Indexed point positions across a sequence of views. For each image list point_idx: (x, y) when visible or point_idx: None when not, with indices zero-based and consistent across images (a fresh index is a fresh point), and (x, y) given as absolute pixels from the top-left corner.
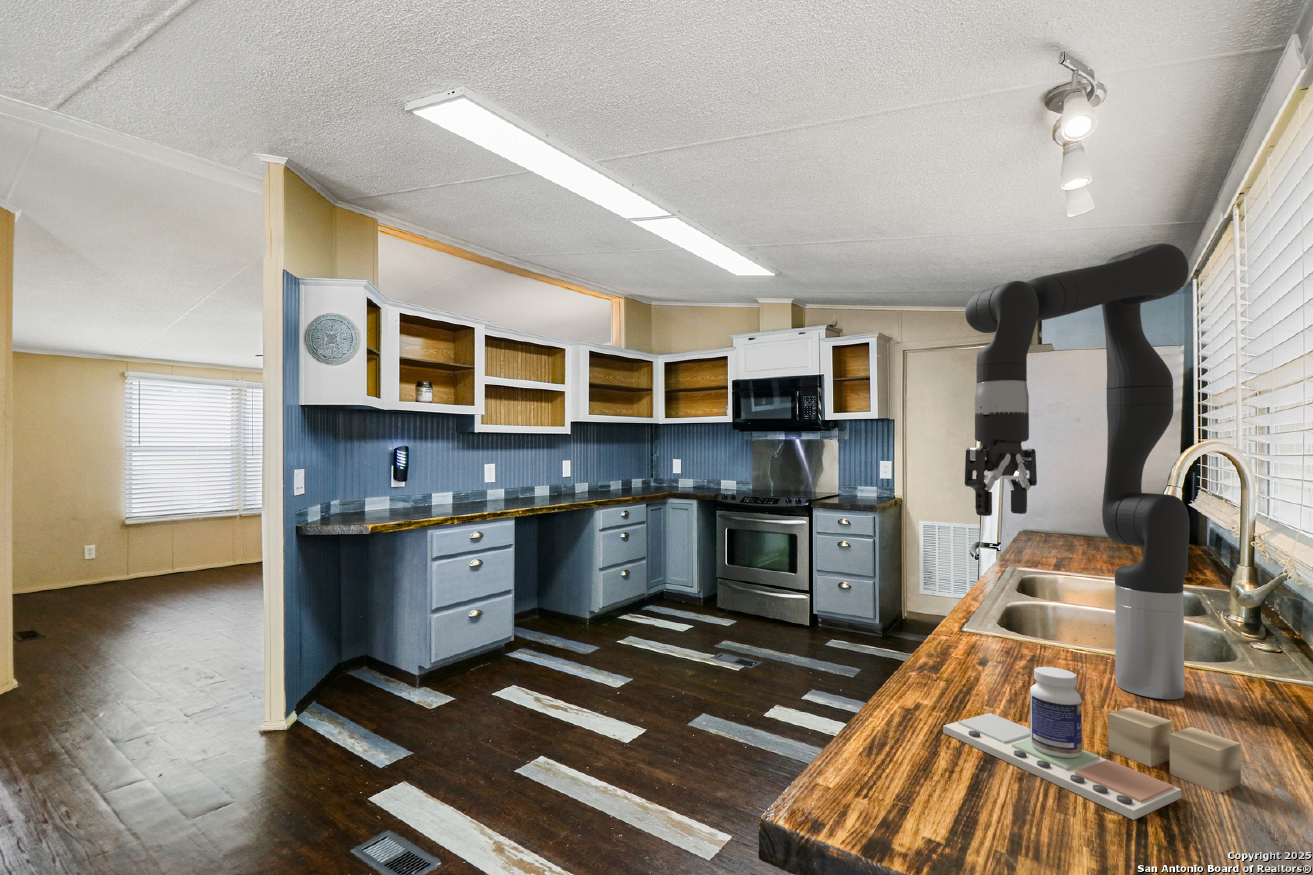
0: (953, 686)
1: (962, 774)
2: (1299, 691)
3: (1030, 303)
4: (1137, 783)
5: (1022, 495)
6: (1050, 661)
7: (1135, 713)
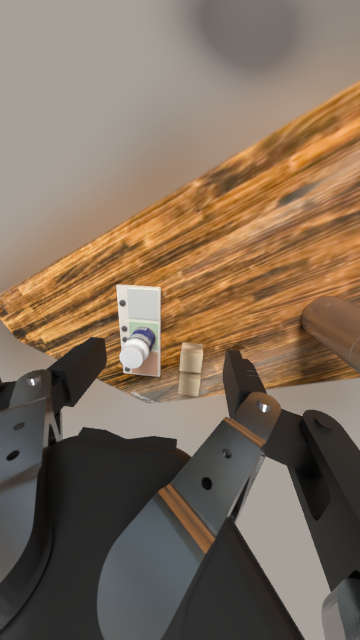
0: (198, 230)
1: (90, 318)
2: None
3: None
4: (145, 367)
5: (229, 409)
6: (354, 232)
7: (194, 360)
